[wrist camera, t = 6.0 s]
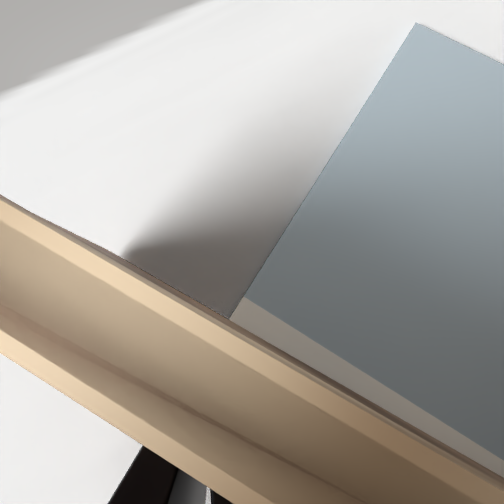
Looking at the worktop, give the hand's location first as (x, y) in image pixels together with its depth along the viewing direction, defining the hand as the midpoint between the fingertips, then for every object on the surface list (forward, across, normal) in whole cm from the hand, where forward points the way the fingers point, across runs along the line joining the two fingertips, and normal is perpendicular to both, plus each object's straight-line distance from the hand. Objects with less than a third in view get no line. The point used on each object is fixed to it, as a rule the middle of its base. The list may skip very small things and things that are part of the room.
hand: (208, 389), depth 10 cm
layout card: (+5, -11, +3) cm, 13 cm away
